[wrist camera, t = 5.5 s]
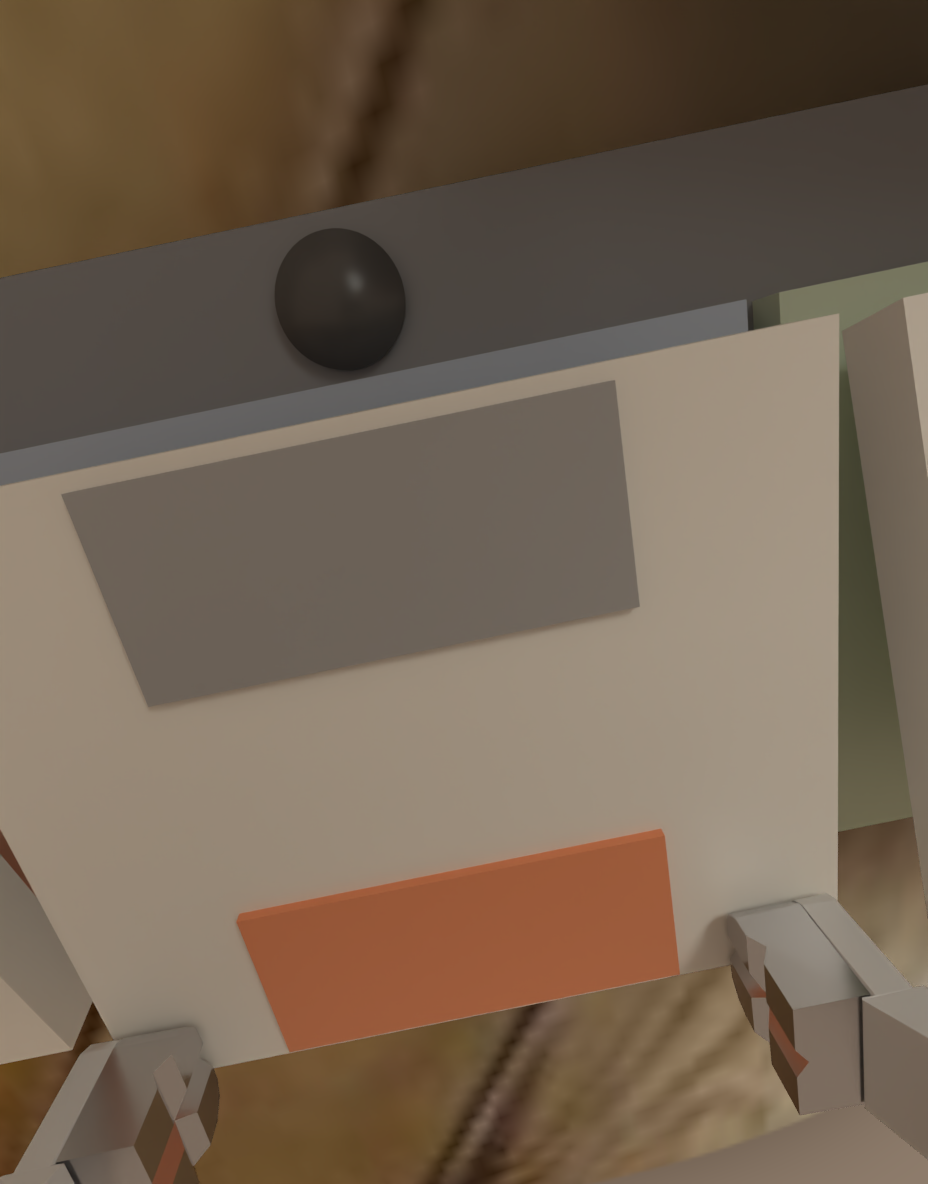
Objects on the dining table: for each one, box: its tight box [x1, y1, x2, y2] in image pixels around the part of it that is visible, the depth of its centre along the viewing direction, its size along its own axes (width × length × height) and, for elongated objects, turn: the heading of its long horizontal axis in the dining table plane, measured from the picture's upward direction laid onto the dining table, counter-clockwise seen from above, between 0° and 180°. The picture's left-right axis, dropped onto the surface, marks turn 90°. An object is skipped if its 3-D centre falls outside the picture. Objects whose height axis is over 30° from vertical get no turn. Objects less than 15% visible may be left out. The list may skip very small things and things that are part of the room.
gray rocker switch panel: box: [0, 84, 928, 896], centre depth 12 cm, size 39×13×4 cm, turn 101°
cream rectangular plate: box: [0, 313, 839, 1068], centre depth 8 cm, size 11×9×1 cm
